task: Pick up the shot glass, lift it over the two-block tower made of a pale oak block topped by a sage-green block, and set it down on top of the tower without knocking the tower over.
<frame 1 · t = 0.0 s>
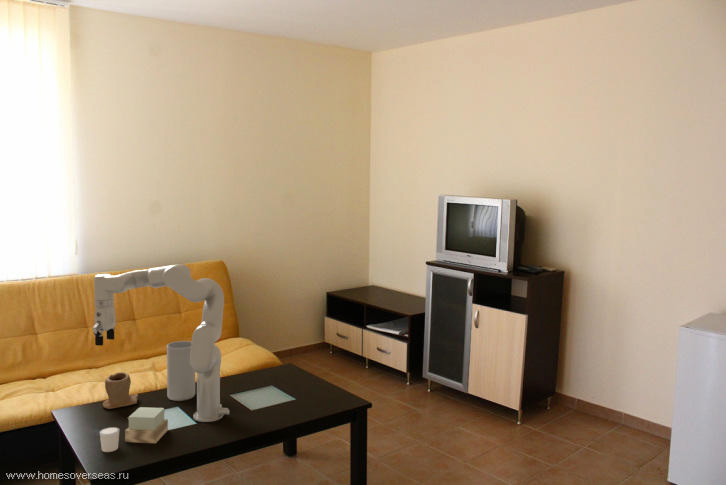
hand: (105, 342, 245), 31 cm above the table, tool pointing down, fingers open, 9 cm apart
cylinder vase: (181, 396, 268), on the table
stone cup: (121, 406, 255), on the table
sage top block: (146, 424, 225), point 5 cm above the table, touching oak base block
oak base block: (147, 436, 225), on the table, touching sage top block
shot glass: (109, 449, 214), on the table
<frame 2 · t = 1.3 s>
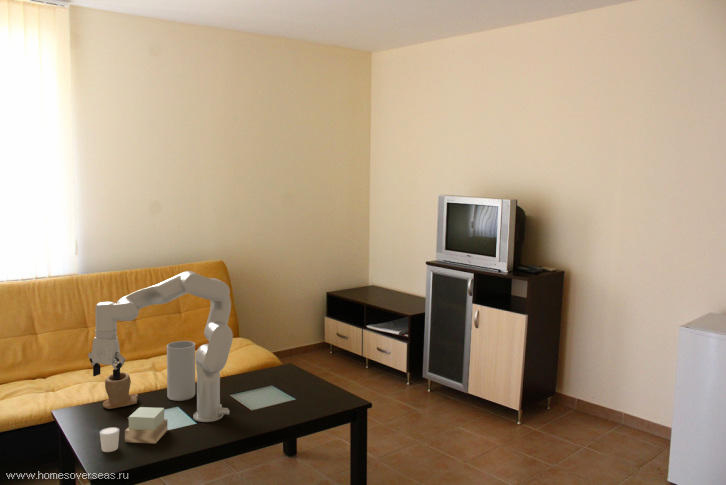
hand: (106, 376, 222), 24 cm above the table, tool pointing down, fingers open, 9 cm apart
sage top block: (147, 424, 225), point 5 cm above the table
oak base block: (146, 436, 225), on the table
everything else where it was.
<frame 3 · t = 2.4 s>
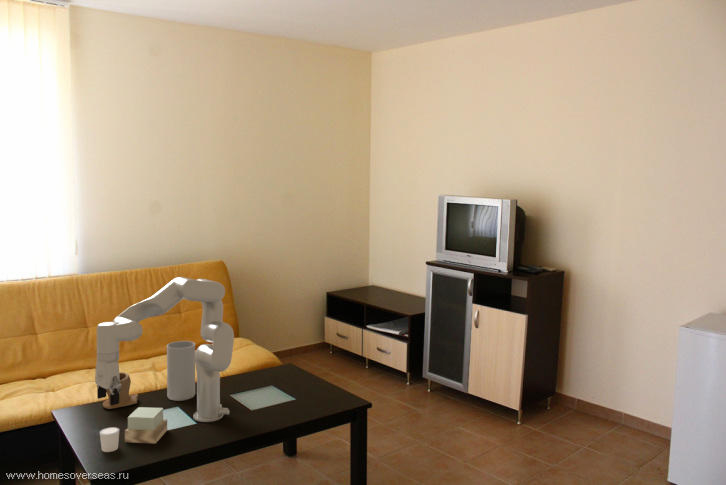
hand: (108, 400, 212), 19 cm above the table, tool pointing down, fingers open, 9 cm apart
nothing on the table moved.
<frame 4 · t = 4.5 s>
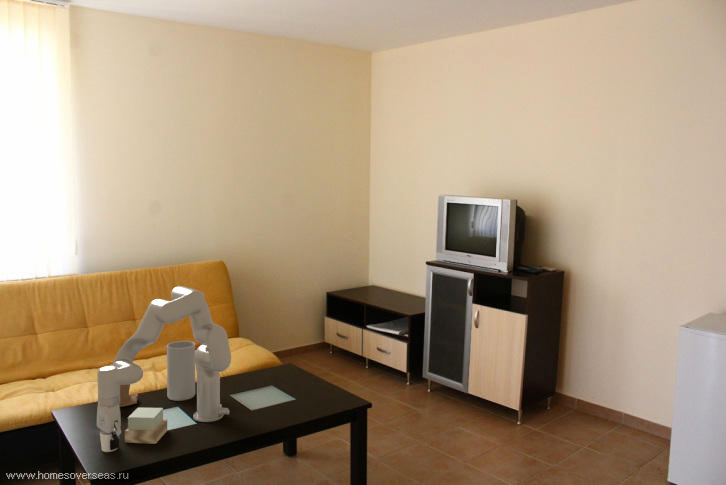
hand: (109, 445, 214), 1 cm above the table, tool pointing down, fingers closed on shot glass, 6 cm apart
shot glass: (109, 449, 214), on the table, touching gripper
everything else where it was.
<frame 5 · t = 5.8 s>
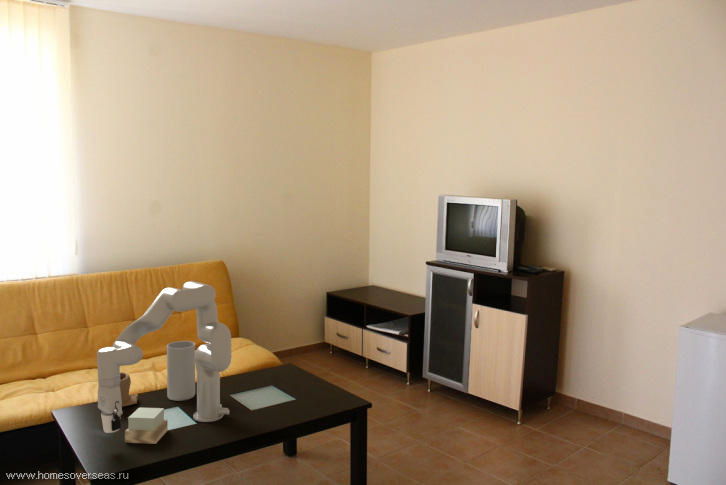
hand: (111, 426, 214), 8 cm above the table, tool pointing down, fingers closed on shot glass, 6 cm apart
sage top block: (146, 425, 225), point 5 cm above the table, touching oak base block
oak base block: (146, 437, 225), on the table, touching sage top block
shot glass: (111, 430, 214), point 7 cm above the table, touching gripper
everything else where it was.
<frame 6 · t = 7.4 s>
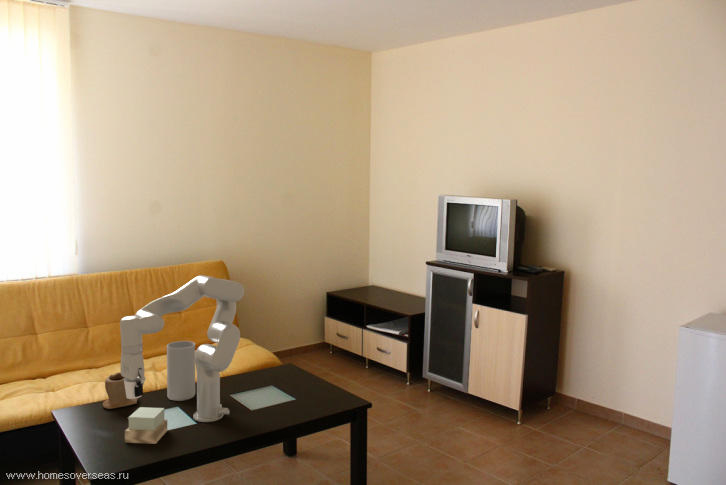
hand: (134, 393, 220), 19 cm above the table, tool pointing down, fingers closed on shot glass, 6 cm apart
sage top block: (147, 424, 225), point 5 cm above the table
oak base block: (146, 437, 225), on the table
shot glass: (134, 396, 220), point 17 cm above the table, touching gripper
everything else where it was.
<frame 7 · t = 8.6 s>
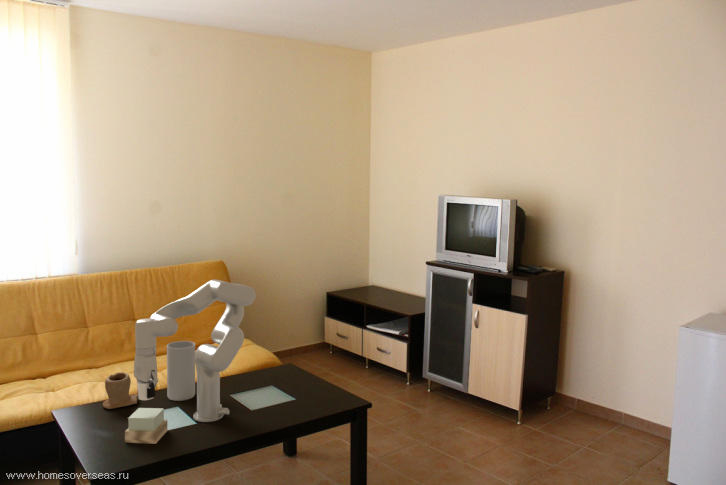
hand: (146, 395, 224), 17 cm above the table, tool pointing down, fingers closed on shot glass, 6 cm apart
sage top block: (146, 425, 225), point 4 cm above the table, touching oak base block
oak base block: (146, 437, 225), on the table, touching sage top block
shot glass: (146, 398, 224), point 15 cm above the table, touching gripper
everything else where it was.
when the fingers open (12 cm above the table, at t = 10.0 s): shot glass stays where it is, resting on sage top block.
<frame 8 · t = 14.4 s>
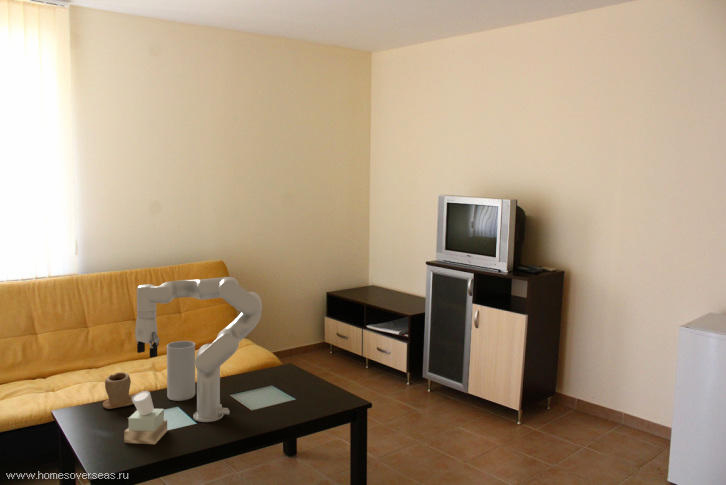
hand: (147, 354, 238), 28 cm above the table, tool pointing down, fingers open, 9 cm apart
sage top block: (146, 425, 224), point 5 cm above the table, touching oak base block, shot glass
shot glass: (146, 411, 224), point 10 cm above the table, touching sage top block
everything else where it was.
at the end: shot glass 0.6 cm off-centre on the sage top block, point 5.2 cm above the sage top block's base; sage top block 0.3 cm off-centre on the oak base block, point 5.0 cm above the oak base block's base; shot glass tilted 8° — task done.
